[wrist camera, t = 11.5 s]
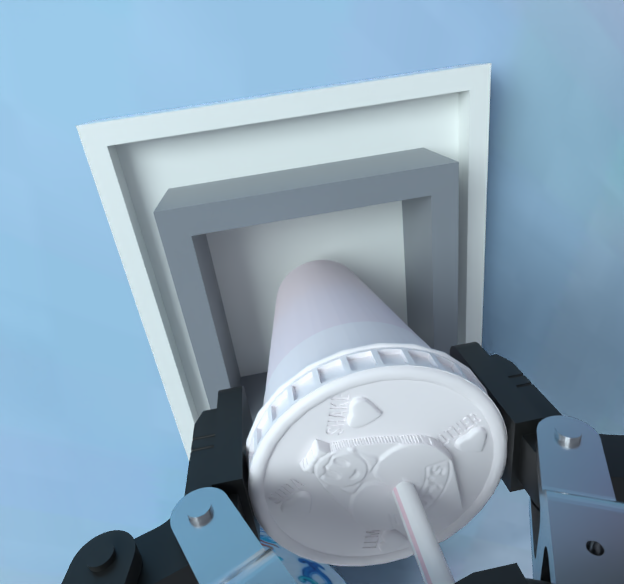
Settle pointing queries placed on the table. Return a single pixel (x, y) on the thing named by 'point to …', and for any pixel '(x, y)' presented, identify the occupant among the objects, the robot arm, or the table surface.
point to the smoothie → (366, 431)
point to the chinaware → (301, 565)
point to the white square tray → (295, 216)
